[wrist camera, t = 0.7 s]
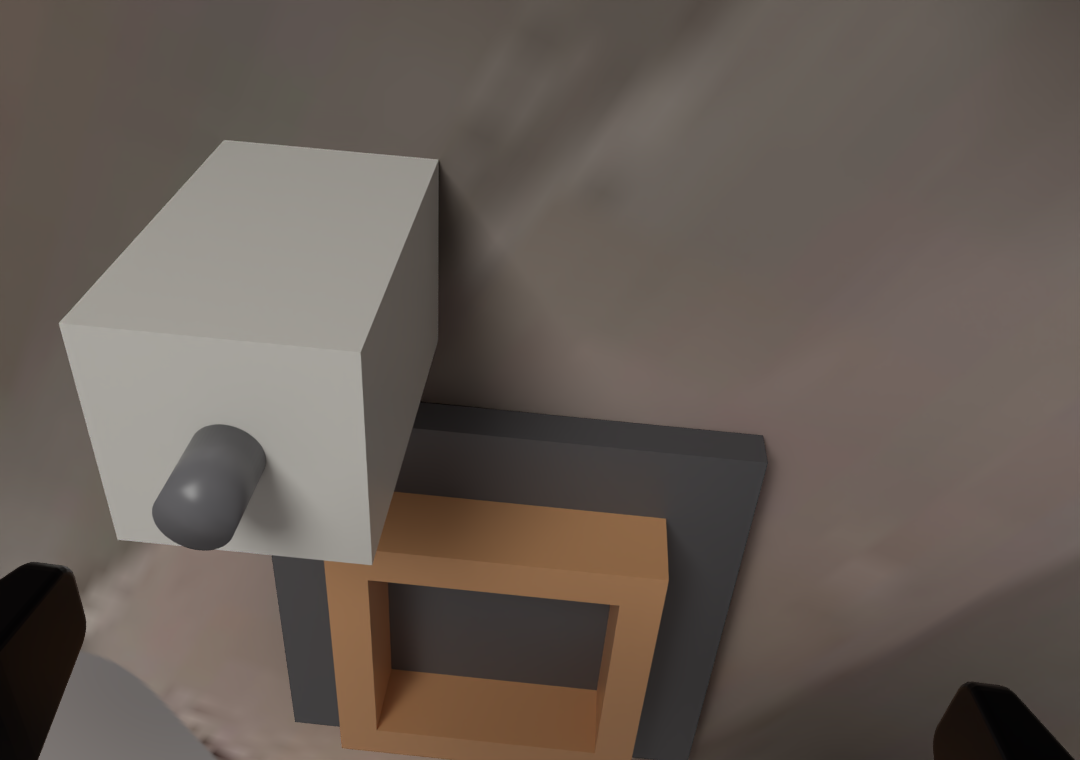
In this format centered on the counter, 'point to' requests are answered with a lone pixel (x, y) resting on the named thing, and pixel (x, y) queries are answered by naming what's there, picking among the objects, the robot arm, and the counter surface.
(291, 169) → the light gray block
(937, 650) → the counter surface
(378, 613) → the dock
